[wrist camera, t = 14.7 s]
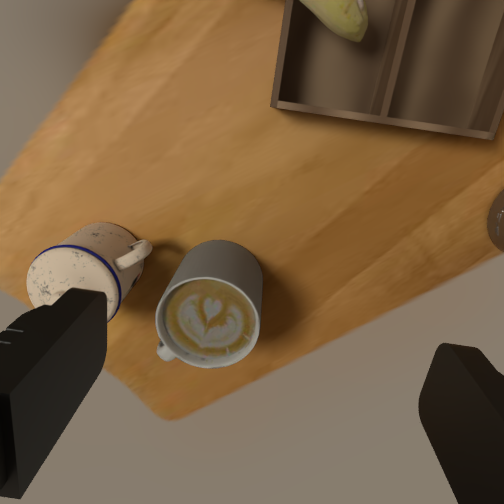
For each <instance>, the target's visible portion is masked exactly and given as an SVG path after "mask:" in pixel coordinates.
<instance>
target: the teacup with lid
mask: <svg viewBox="0 0 504 504" xmlns="http://www.w3.org/2000/svg"><path fill="white" fill-rule="evenodd" d="M151 251H152V245H151V243H150V242H149V241H148V240H140V241H138V242H137V240H136V239H135V238H134V237H133V236H132V235H131V234H130V233H129V232H128V231H126V230H125V229H123V228H122V227H119V226H117V225H114V224H111V223H104V222H99V223H93V224H89V225H87V226H85V227H83V228H82V229H80V230H79V231H77V232H76V233H74V234H73V235H71V236H70V237H68V238H67V239H65V240H64V241H62V242H61V243H59V244H58V245H56V246H53V247H50V248H48V249H46V250H44V251H43V252H41V253H40V254H39V255H38V256H37V257H36V258H35V259H34V261H33V262H32V264H31V266H30V268H29V271H28V275H27V290H28V294H29V297H30V300H31V302H32V303H33V305H34V307H35V308H37V307H39V306H42V305H44V304H45V305H52V304H53V303H54V302H55V301H57V300H58V299H59V298H60V297H61V296H62V295H63V294H64V293H65V292H66V291H67V290H68V289H70V288H72V287H75V288H81V289H88V290H95V291H102V292H105V293H106V296H107V323H108V322H109V321H110V320H111V319H112V318H113V317H114V316H115V314H116V313H117V311H118V309H119V307H120V304H121V302H122V301H123V300H124V298H125V297H126V296H127V294H128V293H129V292H130V290H131V289H132V288H133V286H134V285H135V283H136V282H137V281H138V279H139V278H140V276H141V274H142V271H143V267H144V258H145V257H147V256H148V255H149V254H150V253H151Z"/></svg>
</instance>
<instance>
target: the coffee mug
mask: <svg viewBox="0 0 504 504" xmlns="http://www.w3.org/2000/svg"><path fill="white" fill-rule="evenodd" d="M262 289H263V275H262V271H261V268H260V265H259V263H258V261H257V260H256V259H255V257H254V256H253V255H252V254H251V253H250V252H249V251H248V250H247V249H245V248H244V247H242V246H240V245H238V244H236V243H233V242H230V241H225V240H212V241H207V242H204V243H201V244H199V245H197V246H195V247H194V248H193V249H191V250H190V251H189V252H188V253H187V254H186V255H185V257H184V258H183V260H182V262H181V264H180V265H179V267H178V269H177V271H176V272H175V274H174V276H173V278H172V280H171V281H170V283H169V285H168V287H167V288H166V290H165V292H164V294H163V296H162V297H161V299H160V301H159V304H158V306H157V310H156V315H155V323H156V329H157V332H158V336H159V338H160V340H161V341H160V343H159V345H158V347H157V354H158V355H159V356H160V358H162V359H163V360H165V361H171V360H173V359H175V358H176V357H177V358H178V359H180V360H181V361H183V362H185V363H188V364H190V365H193V366H196V367H201V368H221V367H225V366H229V365H232V364H234V363H236V362H238V361H240V360H241V359H243V358H244V357H245V356H246V355H247V354H248V353H249V352H250V351H251V350H252V349H253V347H254V346H255V344H256V342H257V339H258V336H259V332H260V323H261V306H262Z"/></svg>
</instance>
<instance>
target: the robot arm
mask: <svg viewBox="0 0 504 504" xmlns="http://www.w3.org/2000/svg"><path fill="white" fill-rule="evenodd" d="M487 228H488V232H489V236H490V238H491V240H492V242H493V243H494V244H495V245H496V247H497V248H498V249H500V250H501V251H503V252H504V190H503V191H501V192H500V194H499V195H498V196H497V198H496V199H495V200H494V202H493V204H492V206H491V208H490V211H489V215H488V222H487ZM106 352H107V296H106V293H105V292H102V291H95V290H88V289H81V288H75V287H72V288H70V289H68V290H67V291H66V292H65V293H64V294H63V295H62V296H61V297H60V298H59V299H58V300H57V301H55V302H54V303H53V304H52V305H45V304H44V305H42V306H39V307H37V308H35V309H33V310H31V311H28V312H26V313H24V314H22V315H21V316H20V317H18V318H17V319H16V320H15V321H14V322H13V323H11V324H10V325H9V326H8V327H7V328H6V331H2V332H1V333H0V496H2V497H8V498H15V499H21V497H22V496H23V494H24V492H25V491H26V489H27V488H28V486H29V485H30V483H31V482H32V480H33V478H34V476H35V475H36V474H37V472H38V470H39V469H40V467H41V465H42V464H43V463H44V461H45V459H46V458H47V456H48V455H49V453H50V451H51V450H52V448H53V446H54V445H55V444H56V442H57V440H58V439H59V437H60V436H61V434H62V432H63V431H64V429H65V428H66V426H67V425H68V423H69V421H70V420H71V418H72V417H73V415H74V413H75V412H76V410H77V409H78V407H79V405H80V404H81V402H82V401H83V399H84V398H85V396H86V394H87V393H88V391H89V390H90V388H91V387H92V385H93V383H94V382H95V380H96V379H97V377H98V375H99V374H100V372H101V370H102V367H103V365H104V361H105V357H106ZM419 416H420V420H421V423H422V425H423V427H424V430H425V432H426V434H427V436H428V438H429V440H430V443H431V445H432V447H433V449H434V451H435V454H436V456H437V458H438V460H439V462H440V465H441V467H442V469H443V471H444V473H445V476H446V478H447V480H448V482H449V484H450V487H451V488H452V491H453V493H454V495H455V497H456V499H457V502H458V504H504V375H502V374H501V373H500V372H498V371H497V370H496V369H495V368H494V366H493V365H492V364H491V363H490V361H489V360H488V359H487V358H486V357H485V355H484V354H483V353H482V352H481V351H480V350H479V349H478V348H475V347H469V346H462V345H456V344H449V343H442V344H441V345H439V346H438V348H437V350H436V352H435V355H434V358H433V360H432V363H431V366H430V368H429V371H428V374H427V377H426V379H425V382H424V385H423V388H422V390H421V393H420V397H419Z"/></svg>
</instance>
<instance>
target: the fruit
mask: <svg viewBox="0 0 504 504" xmlns="http://www.w3.org/2000/svg"><path fill="white" fill-rule="evenodd" d="M299 1H301V2H302V3H303V4H304V5H305V6H306V7H307V8H308V9H310V10H311V11H312V12H313V13H314V14H315V15H316V16H317V17H318V19H319V20H320V21H321V22H322V23H323V24H324V25H325V26H326V27H328V28H329V29H330V30H331V31H332V32H334V33H335V34H337V35H339V36H341V37H343V38H346V39H349V40H351V41H354V42H360V41H361V40H362V38H363V36H364V34H365V31H366V30H367V27H368V15H367V8H366V4H365V0H299Z"/></svg>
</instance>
